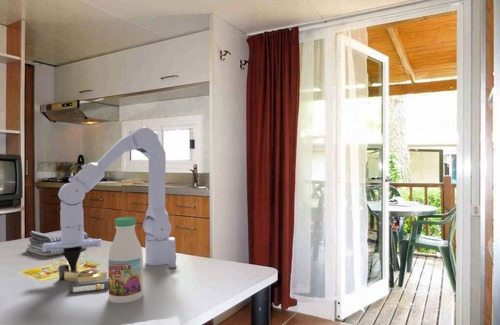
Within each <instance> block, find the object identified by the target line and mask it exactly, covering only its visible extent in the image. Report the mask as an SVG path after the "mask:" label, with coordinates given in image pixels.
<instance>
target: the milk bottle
mask: <svg viewBox="0 0 500 325" xmlns="http://www.w3.org/2000/svg"><path fill="white" fill-rule="evenodd" d="M136 221H137V220H136V217H134V216H121V217H116V218H115V220H114V225H115V227H114V228H115V230H116V231H115V235H114V238H113V241H112V243H111V246H110V248H109V250H108V251H109V252H108V264H107V265H108V279H109V289H108V300H109V302H111V303H114V304H115V303H116V304H125V303H130V302H134V301H137V300H139V299H141V298H143V296H144V260H143V258H144V257H143V247H142V246H141V243H140V241H139V239H138V236H137V234H136V229H135V227H136V224H137V223H136Z"/></svg>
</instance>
